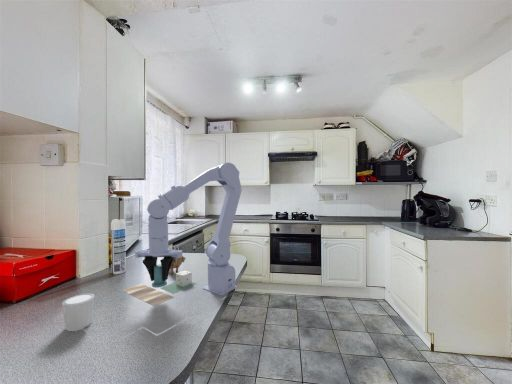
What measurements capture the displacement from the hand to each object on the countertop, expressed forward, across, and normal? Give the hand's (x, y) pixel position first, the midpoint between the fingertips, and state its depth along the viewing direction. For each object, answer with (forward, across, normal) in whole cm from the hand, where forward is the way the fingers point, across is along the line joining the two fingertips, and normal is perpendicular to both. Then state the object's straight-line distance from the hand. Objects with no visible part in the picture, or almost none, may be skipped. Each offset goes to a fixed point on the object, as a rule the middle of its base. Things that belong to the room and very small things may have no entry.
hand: (159, 279), depth 76 cm
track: (+6, +6, -4) cm, 10 cm away
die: (+6, -3, -13) cm, 14 cm away
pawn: (+2, 0, 0) cm, 2 cm away
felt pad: (+6, -2, -11) cm, 13 cm away
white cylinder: (+7, +15, +14) cm, 22 cm away
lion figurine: (+7, +6, -25) cm, 27 cm away
